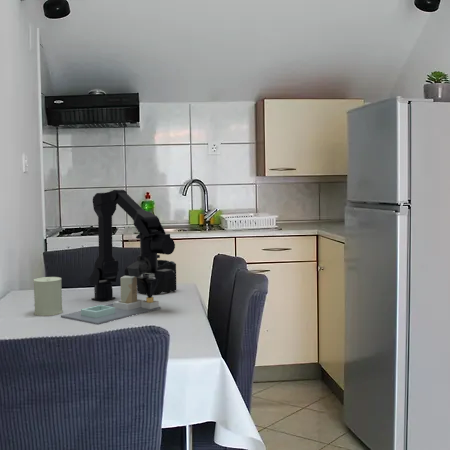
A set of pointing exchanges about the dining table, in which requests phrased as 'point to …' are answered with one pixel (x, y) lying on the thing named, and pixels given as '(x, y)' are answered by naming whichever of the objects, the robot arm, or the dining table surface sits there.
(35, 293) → the can
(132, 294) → the box
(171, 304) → the dining table surface
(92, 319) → the grey board
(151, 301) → the button
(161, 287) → the black basket
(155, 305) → the frame
